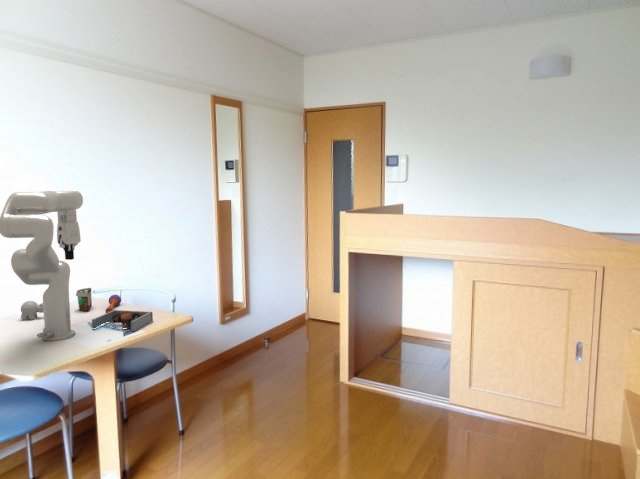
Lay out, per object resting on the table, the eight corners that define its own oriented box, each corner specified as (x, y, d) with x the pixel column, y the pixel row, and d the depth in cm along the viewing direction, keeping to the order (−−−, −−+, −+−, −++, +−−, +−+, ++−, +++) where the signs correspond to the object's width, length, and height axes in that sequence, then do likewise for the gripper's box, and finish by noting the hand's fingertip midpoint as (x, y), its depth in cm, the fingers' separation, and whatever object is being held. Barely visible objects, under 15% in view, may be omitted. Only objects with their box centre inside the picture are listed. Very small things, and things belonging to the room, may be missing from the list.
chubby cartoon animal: (46, 320, 222) (45, 302, 221) (18, 321, 220) (17, 303, 219) (52, 315, 229) (51, 298, 228) (25, 317, 227) (23, 299, 226)
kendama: (101, 306, 231) (108, 294, 250) (104, 318, 232) (111, 305, 251) (113, 304, 232) (120, 292, 251) (117, 315, 234) (123, 302, 253)
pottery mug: (117, 333, 204) (110, 315, 205) (116, 337, 212) (110, 320, 213) (144, 322, 210) (137, 305, 211) (143, 326, 218) (136, 309, 219)
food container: (79, 307, 245) (78, 288, 244) (92, 306, 247) (91, 287, 246) (74, 313, 233) (73, 293, 232) (88, 312, 235) (87, 292, 234)
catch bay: (133, 331, 204) (133, 321, 203) (92, 329, 207) (91, 319, 206) (152, 321, 220) (152, 311, 219) (114, 319, 223) (113, 310, 222)
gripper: (63, 220, 206) (65, 262, 208) (85, 218, 220) (87, 257, 222) (47, 220, 207) (50, 261, 209) (71, 217, 222) (73, 256, 224)
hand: (69, 259), depth 216 cm, fingers closed
